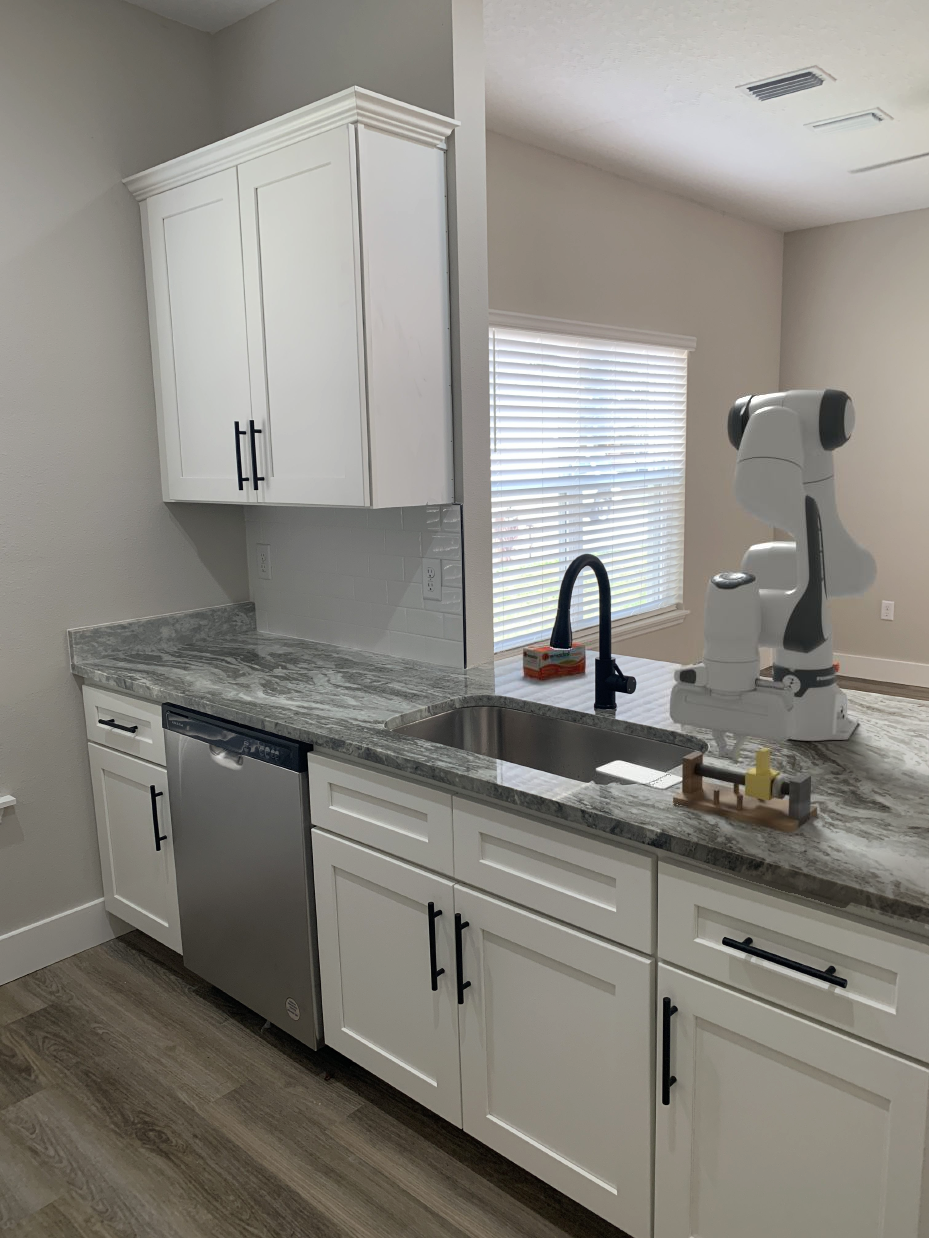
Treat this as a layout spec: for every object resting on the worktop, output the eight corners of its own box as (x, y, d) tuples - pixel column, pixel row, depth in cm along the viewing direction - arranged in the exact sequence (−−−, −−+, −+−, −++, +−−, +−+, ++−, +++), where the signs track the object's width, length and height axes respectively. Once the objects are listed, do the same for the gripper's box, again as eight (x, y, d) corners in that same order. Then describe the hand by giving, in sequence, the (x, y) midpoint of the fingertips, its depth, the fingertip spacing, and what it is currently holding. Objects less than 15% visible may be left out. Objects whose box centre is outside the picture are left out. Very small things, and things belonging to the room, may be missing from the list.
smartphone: (662, 789, 162) (593, 769, 172) (662, 793, 162) (593, 773, 172) (686, 778, 167) (618, 759, 177) (686, 782, 167) (618, 763, 177)
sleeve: (744, 795, 150) (746, 750, 148) (755, 788, 152) (756, 744, 151) (768, 800, 147) (770, 755, 146) (779, 794, 150) (780, 749, 148)
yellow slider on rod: (672, 803, 155) (673, 762, 154) (702, 787, 162) (702, 747, 161) (790, 833, 142) (792, 787, 141) (816, 813, 149) (818, 770, 148)
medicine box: (568, 668, 258) (567, 639, 256) (586, 673, 251) (586, 644, 249) (522, 676, 250) (521, 646, 249) (540, 681, 243) (539, 651, 242)
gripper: (802, 679, 146) (799, 765, 148) (684, 663, 159) (683, 742, 162) (785, 687, 141) (783, 775, 144) (665, 670, 155) (664, 751, 157)
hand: (729, 757), depth 153 cm, fingers closed
